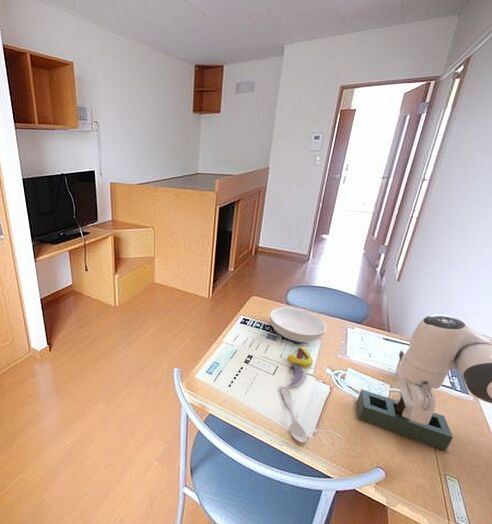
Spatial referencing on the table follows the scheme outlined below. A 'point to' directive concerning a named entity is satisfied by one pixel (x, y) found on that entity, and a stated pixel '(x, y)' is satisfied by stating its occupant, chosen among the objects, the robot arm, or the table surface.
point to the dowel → (400, 406)
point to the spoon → (294, 420)
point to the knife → (299, 365)
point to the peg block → (402, 420)
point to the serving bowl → (297, 324)
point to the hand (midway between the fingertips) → (403, 409)
